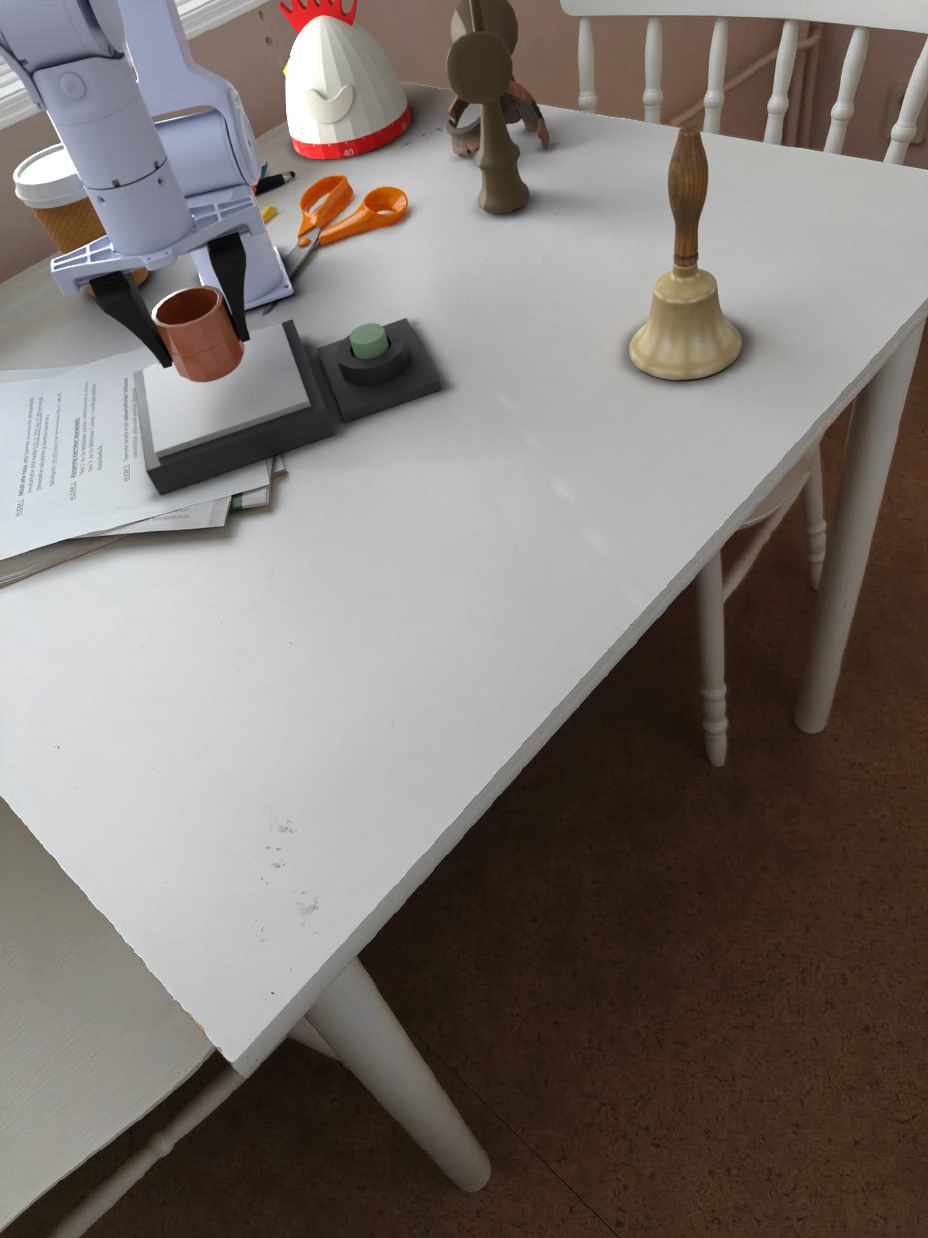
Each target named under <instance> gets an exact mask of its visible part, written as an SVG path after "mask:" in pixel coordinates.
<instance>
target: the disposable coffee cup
mask: <svg viewBox="0 0 928 1238" xmlns="http://www.w3.org/2000/svg"><path fill="white" fill-rule="evenodd" d="M12 178H13V182H14V185H15V191H14V193H15V195H16V197H17V198H18V199H19V200H20V201H22V202H23V203H24V204H25V206H27V207H28V208H29V209H30V210H31V212H32V213H33V214H34V216H35V217H36V219H37V220H38V221H39V223H40V224H41V226H42V227H43V229H44V230H45V232H46V233H47V235H48V236H49V237H50V239H51V240H52V242H53V243H54V244H55V246H56V247H57V249H58V250H59V251H60V253H61V254H62V256H63V255H66V254H68V253H71V252H73V251H75V250H77V249H79V248H81V247H83V246H85V245H87V244H89V243H91V242H93V241H95V240H97V239H100V238H102V237H104V236H106V235H107V233H106V231H105V229H104V227H103V225H102V223H101V221H100V219H99V217H98V215H97V213H96V211H95V209H94V206H93V204H92V202H91V200H90V198H89V196H88V194H87V192H86V190H85V188H84V186H83V184H82V182H81V180H80V178H79V176H78V174H77V172H76V170H75V168H74V166H73V164H72V162H71V160H70V158H69V156H68V154H67V152H66V150H65V148H64V146H63V143H62V142H60V143H58V144H54V145H51V146H50V147H47V148H44V149H42V150H41V151H38V152H36V153H34V154H32V155H30V156H29V157H28V158H26V159H25V160H23V161H22V162H21V163H19V165H18V166H17V167H16V169H15V170H14V172H13V175H12ZM131 273H132V275H133V278H134V280H135V282H136V284H137V287H139V286H140V285H141V284H143V282H144V281H146V279H147V278H148V275H149V273H150V272H149V270H147V269H146V267H144V268H141V269H138V270H135V271H132V272H131ZM85 289H86V290H87V292H88V293H89V295H90V296H92V297H94V298H96V297H95V294H94V292H93V289H92V287H91V285H89V286H86V287H85Z"/></svg>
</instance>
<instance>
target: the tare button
mask: <svg viewBox="0 0 928 1238" xmlns="http://www.w3.org/2000/svg"><path fill="white" fill-rule="evenodd" d="M382 326H383V325H381V324H379V323H365V324H362V325H359V326H357V327H355V328H354V329H353V330H352V331H351V333H350V334H349V335H350V341H351V344H352V348H353V351H354V354H355V356H356V357H357V358H358V359H373V358H376V357H379V356H381V355H382V354H384V353H385V352H386V351H388V348H389V344H388V341H387V337H386V334H385V330H384V328H383V327H382Z"/></svg>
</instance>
